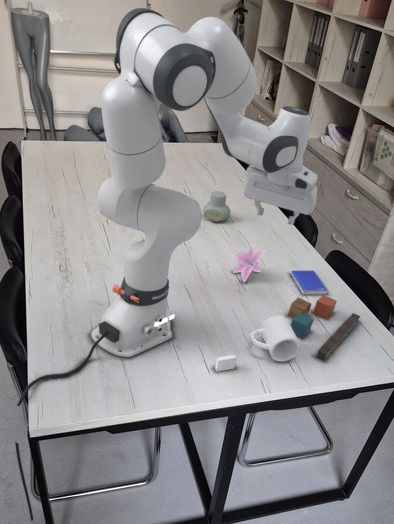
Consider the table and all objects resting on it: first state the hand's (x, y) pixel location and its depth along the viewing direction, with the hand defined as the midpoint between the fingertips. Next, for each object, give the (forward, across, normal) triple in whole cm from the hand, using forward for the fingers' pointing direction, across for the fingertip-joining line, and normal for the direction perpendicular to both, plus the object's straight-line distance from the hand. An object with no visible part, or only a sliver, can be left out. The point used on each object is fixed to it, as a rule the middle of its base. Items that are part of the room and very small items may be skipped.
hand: (275, 218), depth 139 cm
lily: (+25, -7, +4) cm, 26 cm away
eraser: (+20, +5, -43) cm, 48 cm away
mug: (+22, +13, -29) cm, 38 cm away
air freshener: (+28, -34, +37) cm, 58 cm away
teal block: (+23, +17, -17) cm, 33 cm away
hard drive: (+26, +12, +11) cm, 30 cm away
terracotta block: (+24, +21, -3) cm, 32 cm away
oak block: (+23, +15, -9) cm, 29 cm away
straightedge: (+23, +28, -14) cm, 39 cm away
